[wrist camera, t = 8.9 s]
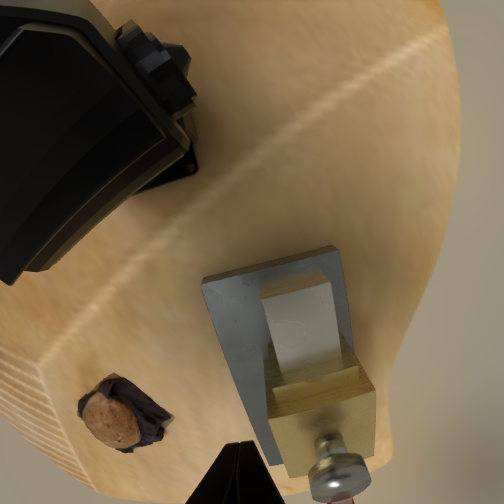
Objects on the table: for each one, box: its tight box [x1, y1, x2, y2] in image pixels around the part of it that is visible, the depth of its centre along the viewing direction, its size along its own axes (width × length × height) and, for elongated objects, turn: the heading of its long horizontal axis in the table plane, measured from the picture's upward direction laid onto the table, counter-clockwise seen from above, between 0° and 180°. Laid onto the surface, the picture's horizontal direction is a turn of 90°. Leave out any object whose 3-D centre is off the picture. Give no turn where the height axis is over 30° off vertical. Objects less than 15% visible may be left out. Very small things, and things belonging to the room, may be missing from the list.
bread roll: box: [77, 373, 175, 453], centre depth 21 cm, size 11×8×4 cm
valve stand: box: [200, 245, 376, 478], centre depth 17 cm, size 9×20×9 cm, turn 14°
